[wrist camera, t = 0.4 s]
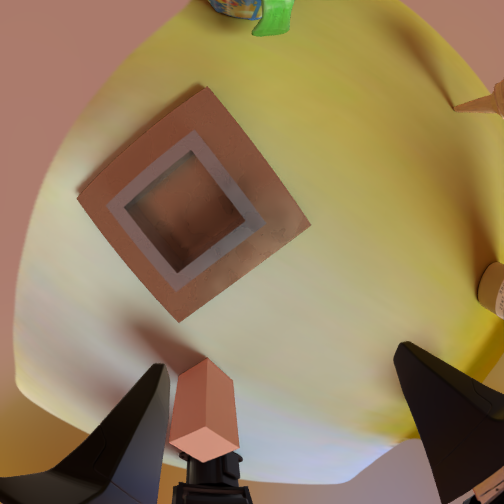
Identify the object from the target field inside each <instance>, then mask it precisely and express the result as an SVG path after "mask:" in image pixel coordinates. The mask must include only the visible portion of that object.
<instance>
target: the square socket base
mask: <svg viewBox="0 0 504 504" xmlns="http://www.w3.org/2000/svg"><path fill="white" fill-rule="evenodd" d="M77 200H78V201H79V203H80V204H81V205H82V207H83V208H84V210H85V211H86V213H87V214H88V215H89V217H90V218H91V219H92V221H93V222H94V223H95V225H96V226H97V228H98V229H99V230H100V231H101V233H102V234H103V235H104V237H105V238H106V239H107V241H108V242H109V243H110V244H111V246H112V247H113V248H114V250H115V251H116V252H117V253H118V255H119V256H120V257H121V258H122V259H123V261H124V262H125V263H126V264H127V266H128V267H129V268H130V269H131V270H132V272H133V273H134V274H135V275H136V276H137V277H138V279H139V280H140V281H141V282H142V283H143V284H144V285H145V287H146V288H147V289H148V290H149V291H150V292H151V293H152V295H153V296H154V297H155V298H156V299H157V300H158V301H159V302H160V303H161V304H162V306H163V307H164V308H165V309H166V310H167V311H168V312H169V313H170V314H171V315H172V316H173V317H174V318H175V319H176V320H177V322H178V323H179V322H181V321H182V320H184V319H185V318H186V317H188V316H189V315H191V314H192V313H193V312H195V311H196V310H197V309H199V308H200V307H202V306H203V305H204V304H206V303H207V302H208V301H210V300H211V299H213V298H214V297H215V296H217V295H218V294H219V293H221V292H222V291H224V290H225V289H226V288H228V287H229V286H230V285H232V284H233V283H234V282H236V281H237V280H239V279H240V278H241V277H243V276H244V275H245V274H247V273H248V272H249V271H251V270H252V269H253V268H255V267H256V266H257V265H259V264H260V263H262V262H263V261H264V260H266V259H267V258H268V257H270V256H271V255H272V254H274V253H275V252H276V251H278V250H279V249H280V248H282V247H283V246H284V245H286V244H287V243H288V242H290V241H291V240H292V239H294V238H295V237H296V236H298V235H299V234H300V233H302V232H303V231H304V230H306V229H307V228H308V227H310V226H311V224H310V222H309V221H308V219H307V218H306V216H305V215H304V213H303V212H302V210H301V209H300V208H299V206H298V205H297V203H296V202H295V200H294V199H293V197H292V196H291V195H290V193H289V192H288V190H287V189H286V187H285V186H284V185H283V183H282V182H281V180H280V179H279V178H278V176H277V175H276V173H275V172H274V171H273V169H272V168H271V167H270V165H269V164H268V163H267V161H266V160H265V158H264V157H263V156H262V154H261V153H260V152H259V150H258V149H257V148H256V146H255V145H254V144H253V143H252V141H251V140H250V139H249V137H248V136H247V135H246V133H245V132H244V131H243V130H242V128H241V127H240V126H239V124H238V123H237V122H236V121H235V119H234V118H233V117H232V116H231V114H230V113H229V112H228V111H227V109H226V108H225V107H224V106H223V104H222V103H221V102H220V101H219V100H218V98H217V97H216V96H215V95H214V93H213V92H212V91H211V90H210V89H209V88H208V86H207V87H206V88H204V89H203V90H201V91H200V92H198V93H197V94H195V95H194V96H192V97H191V98H189V99H188V100H187V101H185V102H184V103H182V104H181V105H180V106H178V107H177V108H176V109H174V110H173V111H172V112H170V113H169V114H168V115H166V116H165V117H164V118H163V119H161V120H160V121H159V122H157V123H156V124H155V125H154V126H152V127H151V128H150V129H149V130H148V131H146V132H145V133H144V134H143V135H142V136H140V137H139V138H138V139H137V140H136V141H135V142H133V143H132V144H131V145H130V146H129V147H128V148H127V149H126V150H124V151H123V152H122V153H121V154H120V155H119V156H118V157H117V158H116V159H115V160H114V161H113V162H112V163H110V164H109V165H108V166H107V167H106V168H105V169H104V170H103V171H102V172H101V173H100V174H99V175H98V176H97V177H96V178H95V179H94V180H93V181H92V182H91V183H90V184H89V185H88V187H87V188H86V189H85V190H84V191H83V192H82V193H81V194H80V195H79V196H78V197H77Z"/></svg>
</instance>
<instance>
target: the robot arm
mask: <svg viewBox="0 0 504 504" xmlns="http://www.w3.org/2000/svg"><path fill="white" fill-rule="evenodd" d="M393 361H394V365H395V368H396V371H397V374H398V378H399V381H400V384H401V388H402V391H403V393H404V396H405V399H406V401H407V403H408V406H409V408H410V411H411V413H412V416H413V419H414V421H415V424H416V426H417V429H418V432H419V434H420V437H421V440H422V442H423V445H424V448H425V451H426V454H427V457H428V460H429V463H430V466H431V469H432V473H433V476H434V479H435V482H436V486H437V489H438V493H439V496H440V500H441V503H442V504H448V503H450V502H452V501H453V500H455V499H457V498H458V497H460V496H462V495H463V494H465V493H466V492H468V491H470V490H471V489H473V492H474V495H473V496H471V497H470V498H468V499H467V500H465V501H464V502H463V504H504V394H502V393H500V392H497V391H495V390H493V389H491V388H489V387H487V386H485V385H483V384H482V383H480V382H478V381H476V380H475V379H473V378H471V377H470V376H468V375H466V374H464V373H463V372H461V371H459V370H458V369H456V368H454V367H453V366H451V365H449V364H447V363H446V362H444V361H442V360H441V359H439V358H437V357H435V356H434V355H432V354H430V353H429V352H427V351H425V350H423V349H422V348H420V347H418V346H417V345H415V344H413V343H411V342H410V341H405V342H401V343H400V344H399V345H398V348H397V350H396V353H395V355H394V358H393ZM169 397H170V378H169V374H168V371H167V368H166V365H165V364H162V363H154V364H153V365H152V366H151V367H150V368H149V369H148V370H147V371H146V373H145V374H144V375H143V376H142V377H141V378H140V379H139V380H138V382H137V383H136V384H135V385H134V386H133V387H132V388H131V390H130V391H129V392H128V393H127V394H126V395H125V396H124V397H123V399H122V400H121V401H120V402H119V403H118V404H117V405H116V406H115V408H114V409H113V410H112V411H111V412H110V413H109V414H108V415H107V417H106V418H105V419H104V420H103V421H102V422H101V423H100V425H98V427H97V428H96V429H95V430H94V431H93V432H92V433H91V434H90V435H89V436H88V437H87V438H86V440H84V441H83V442H82V443H81V444H80V445H79V446H78V447H77V448H76V449H75V450H74V451H72V452H71V453H70V454H69V455H68V456H67V457H65V458H64V459H63V460H62V461H61V462H60V463H58V464H57V465H56V466H55V467H53V468H51V469H50V470H48V471H45V472H41V473H35V474H28V475H21V476H14V477H0V502H1V503H2V504H157V498H158V489H159V481H160V473H161V466H162V459H163V452H164V445H165V439H166V432H167V426H168V419H169ZM179 457H180V458H182V459H183V460H185V461H187V477H186V483H183V482H179V485H177V486H174V487H173V498H172V504H253V503H252V499H251V496H250V492H249V489H248V486H244V487H239V484H238V479H239V478H240V471H239V462H242V461H243V458H242V457H241V456H239V455H237V454H235V453H234V452H232V451H231V452H229V453H226V454H224V455H222V456H219V457H216V458H214V459H211V460H208V461H206V462H201V461H200V460H198V459H196V458H194V457H192V456H191V455H189V454H187V453H185V452H182V453H180V454H179Z"/></svg>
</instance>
